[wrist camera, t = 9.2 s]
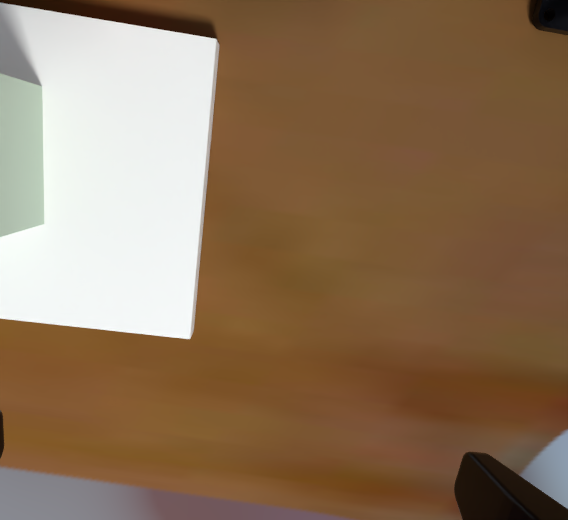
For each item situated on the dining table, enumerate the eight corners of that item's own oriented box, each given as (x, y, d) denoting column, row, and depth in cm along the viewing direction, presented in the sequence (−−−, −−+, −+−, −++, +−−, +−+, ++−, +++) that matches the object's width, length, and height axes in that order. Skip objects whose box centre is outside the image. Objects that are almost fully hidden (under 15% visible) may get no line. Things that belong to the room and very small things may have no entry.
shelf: (219, 45, 17) (209, 23, 14) (193, 330, 21) (181, 358, 18) (-92, -7, 16) (-168, -42, 14) (-64, 302, 20) (-121, 326, 17)
